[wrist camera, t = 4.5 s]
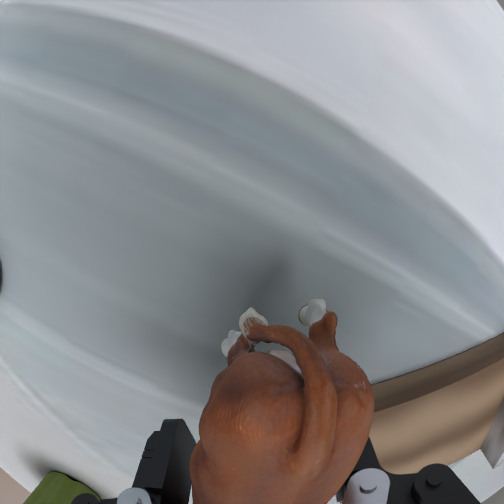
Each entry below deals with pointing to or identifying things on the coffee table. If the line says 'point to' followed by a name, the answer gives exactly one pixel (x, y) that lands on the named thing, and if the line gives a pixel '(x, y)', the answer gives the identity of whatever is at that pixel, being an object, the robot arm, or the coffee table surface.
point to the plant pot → (57, 490)
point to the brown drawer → (442, 412)
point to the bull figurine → (282, 416)
